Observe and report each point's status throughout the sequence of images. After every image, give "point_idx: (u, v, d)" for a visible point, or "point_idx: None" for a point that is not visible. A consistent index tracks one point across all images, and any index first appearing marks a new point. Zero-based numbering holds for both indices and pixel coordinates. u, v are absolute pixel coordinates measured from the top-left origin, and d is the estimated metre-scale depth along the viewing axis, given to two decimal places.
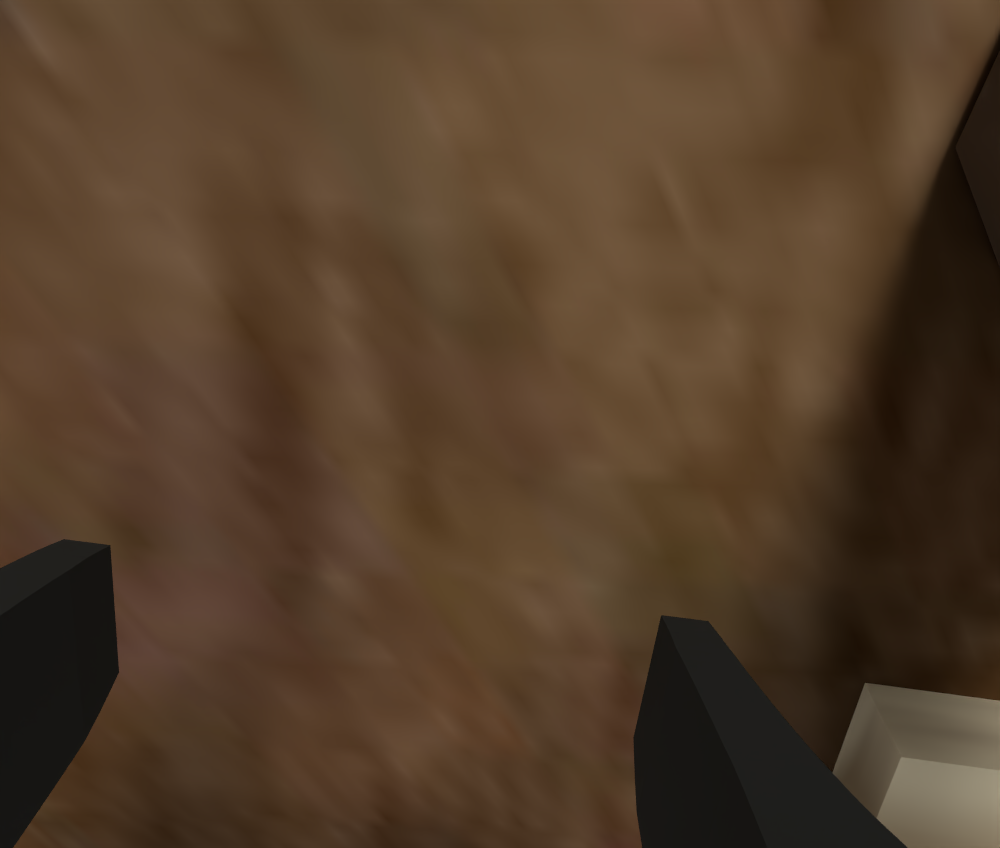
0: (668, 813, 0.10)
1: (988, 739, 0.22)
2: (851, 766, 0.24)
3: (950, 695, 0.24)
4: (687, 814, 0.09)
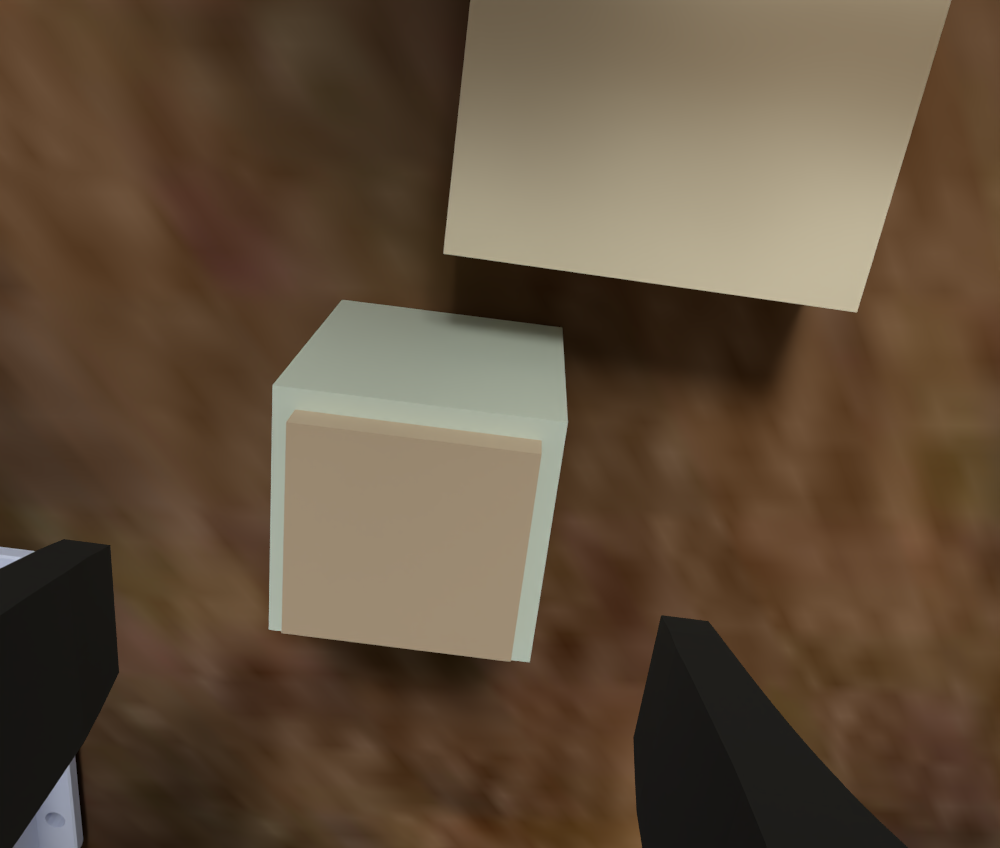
0: (668, 813, 0.10)
1: None
2: None
3: None
4: (687, 814, 0.09)
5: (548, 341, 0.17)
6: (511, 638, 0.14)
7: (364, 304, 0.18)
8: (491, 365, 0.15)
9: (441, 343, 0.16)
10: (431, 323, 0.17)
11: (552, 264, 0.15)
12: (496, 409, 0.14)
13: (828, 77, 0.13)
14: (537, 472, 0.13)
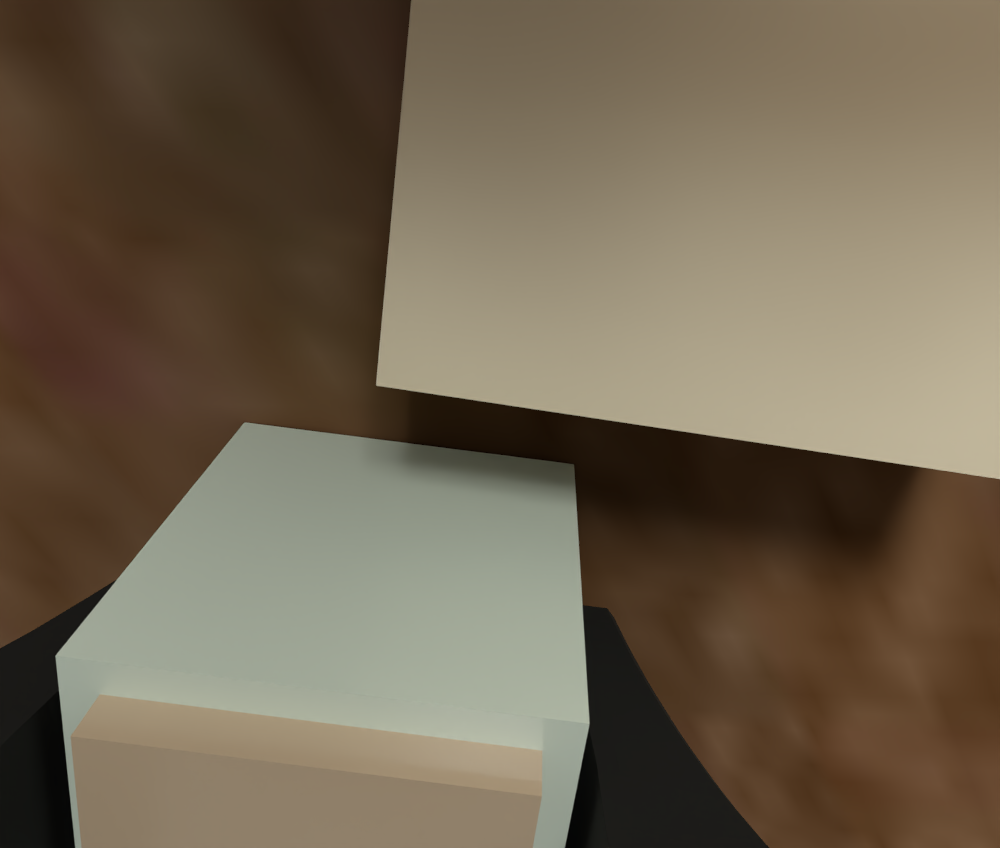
0: None
1: None
2: None
3: None
4: None
5: (552, 499, 0.11)
6: None
7: (277, 431, 0.12)
8: (461, 567, 0.09)
9: (383, 515, 0.10)
10: (374, 468, 0.11)
11: (558, 405, 0.09)
12: (460, 693, 0.08)
13: None
14: (534, 823, 0.07)
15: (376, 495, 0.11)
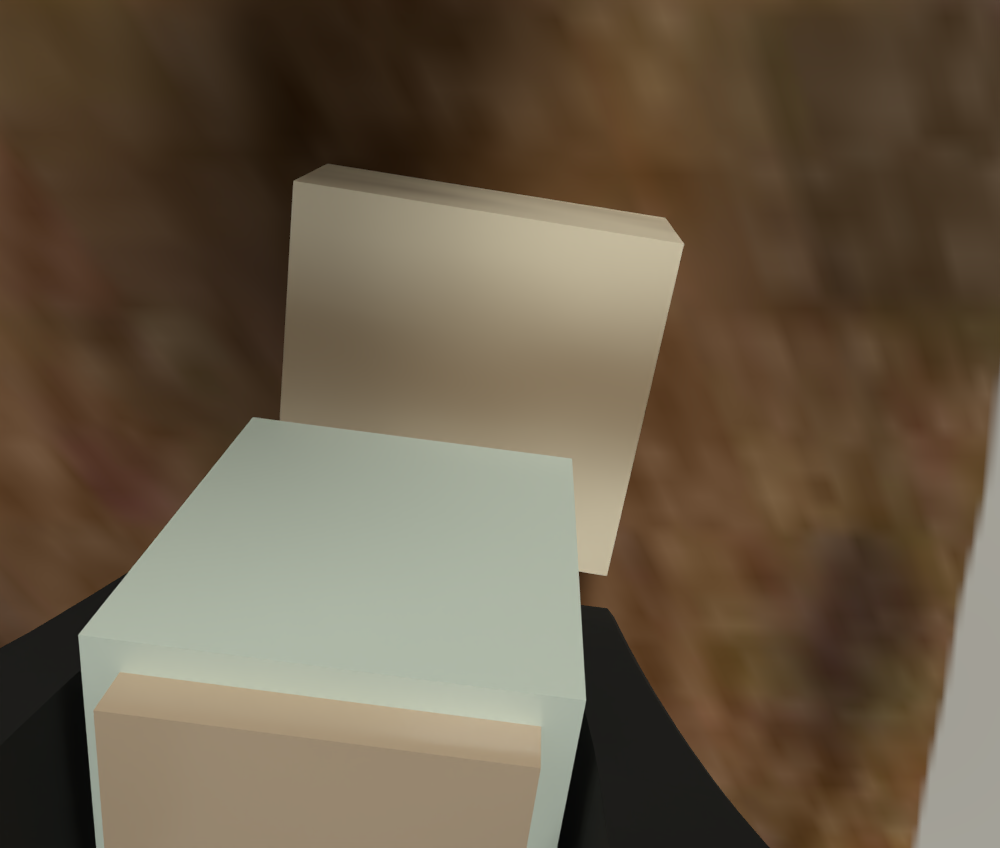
0: None
1: (445, 195, 0.17)
2: None
3: (437, 181, 0.18)
4: None
5: (551, 491, 0.11)
6: None
7: (284, 426, 0.12)
8: (463, 555, 0.10)
9: (388, 506, 0.11)
10: (378, 461, 0.12)
11: None
12: (463, 671, 0.08)
13: (567, 411, 0.17)
14: (533, 794, 0.08)
15: (381, 487, 0.11)
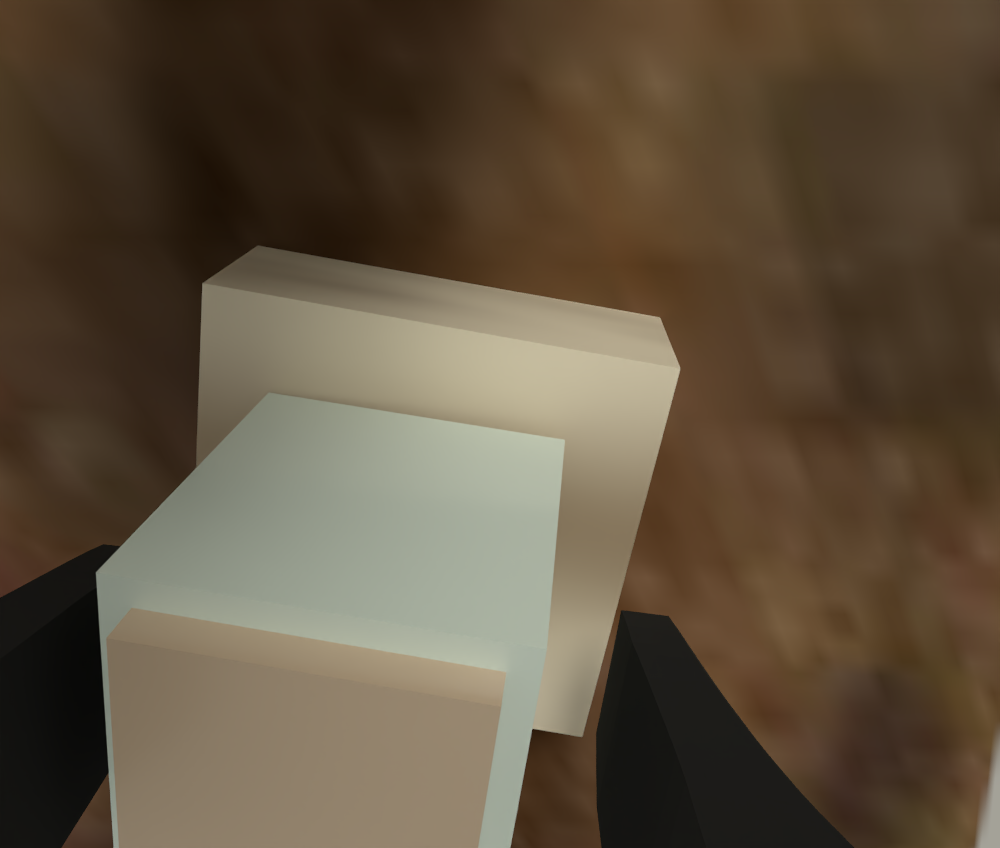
0: (623, 807, 0.10)
1: (393, 295, 0.14)
2: None
3: (389, 269, 0.15)
4: (639, 808, 0.09)
5: (540, 469, 0.12)
6: None
7: (297, 401, 0.13)
8: (451, 520, 0.11)
9: (385, 475, 0.11)
10: (381, 436, 0.12)
11: None
12: (436, 619, 0.09)
13: None
14: (494, 731, 0.08)
15: (381, 458, 0.12)
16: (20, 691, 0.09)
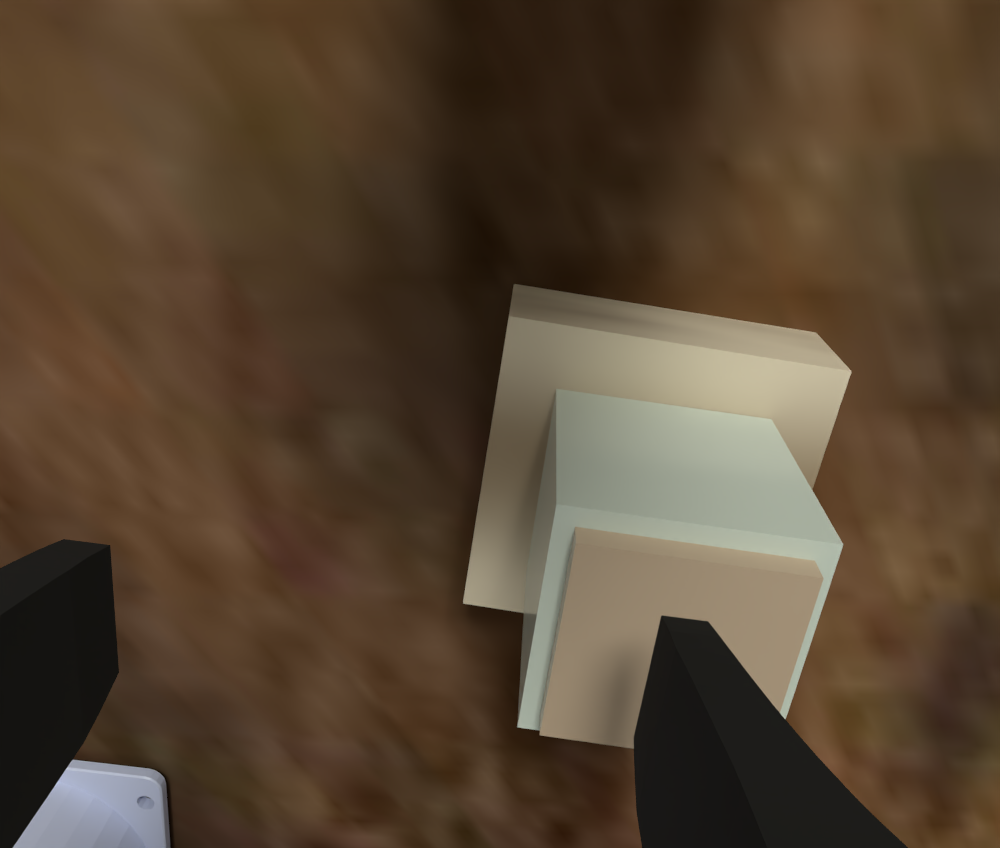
0: (668, 813, 0.10)
1: (631, 321, 0.19)
2: None
3: None
4: (687, 814, 0.09)
5: (769, 439, 0.17)
6: None
7: (580, 394, 0.18)
8: (736, 472, 0.16)
9: (675, 444, 0.17)
10: (652, 418, 0.18)
11: None
12: (770, 529, 0.14)
13: None
14: (816, 594, 0.14)
15: (664, 433, 0.17)
16: None
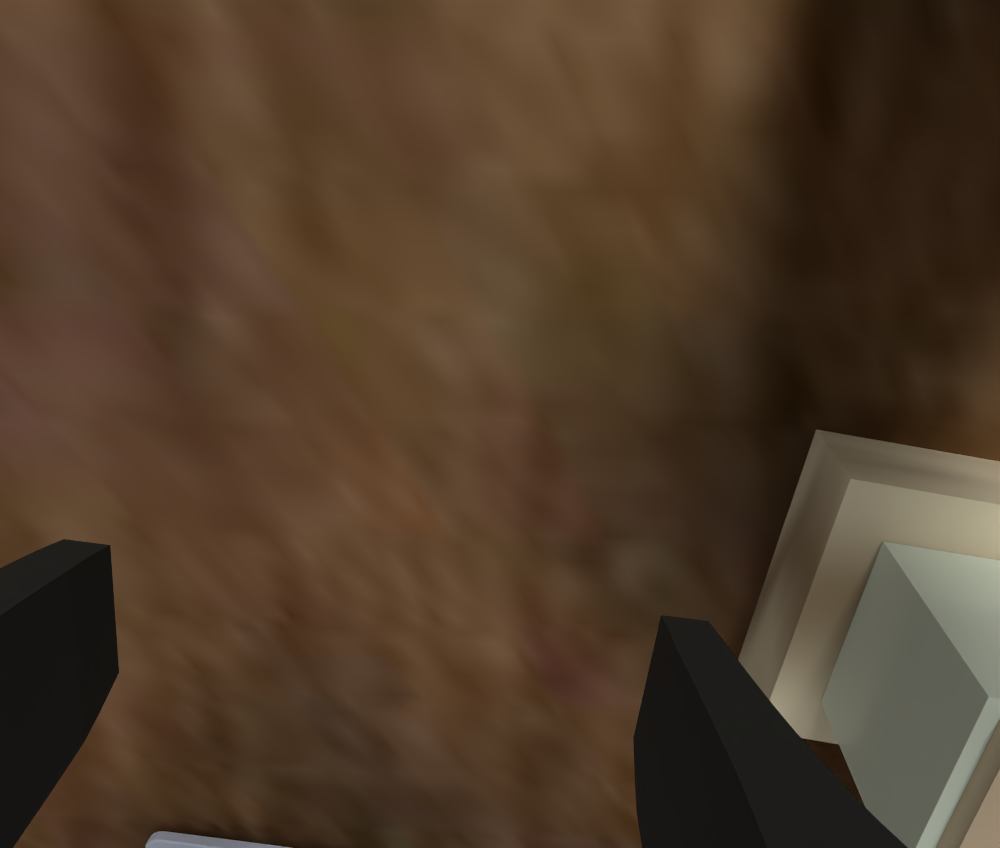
0: (668, 813, 0.10)
1: (948, 477, 0.20)
2: (797, 522, 0.21)
3: (908, 446, 0.21)
4: (687, 814, 0.09)
5: None
6: None
7: (907, 548, 0.19)
8: None
9: None
10: (987, 577, 0.19)
11: (832, 740, 0.22)
12: None
13: None
14: None
15: None
16: None
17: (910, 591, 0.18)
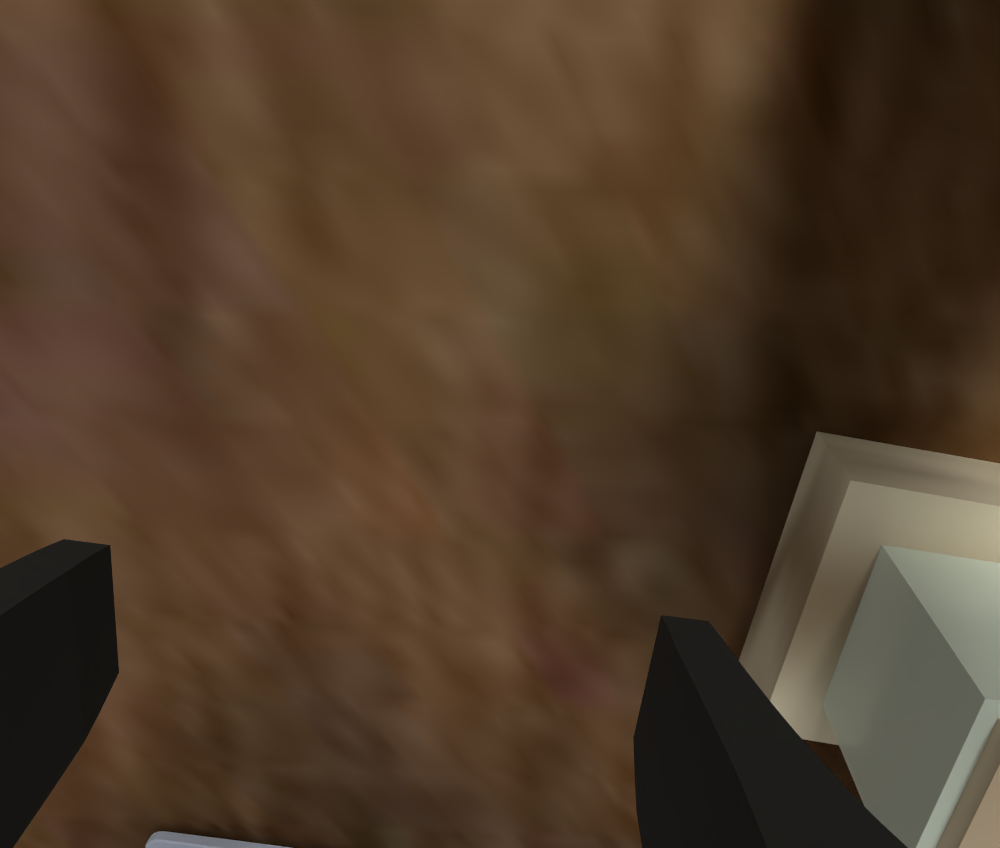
0: (668, 813, 0.10)
1: (948, 478, 0.20)
2: (797, 523, 0.21)
3: None
4: (687, 814, 0.09)
5: None
6: None
7: (906, 551, 0.19)
8: None
9: None
10: (985, 579, 0.19)
11: (832, 741, 0.22)
12: None
13: None
14: None
15: None
16: None
17: (908, 594, 0.18)
